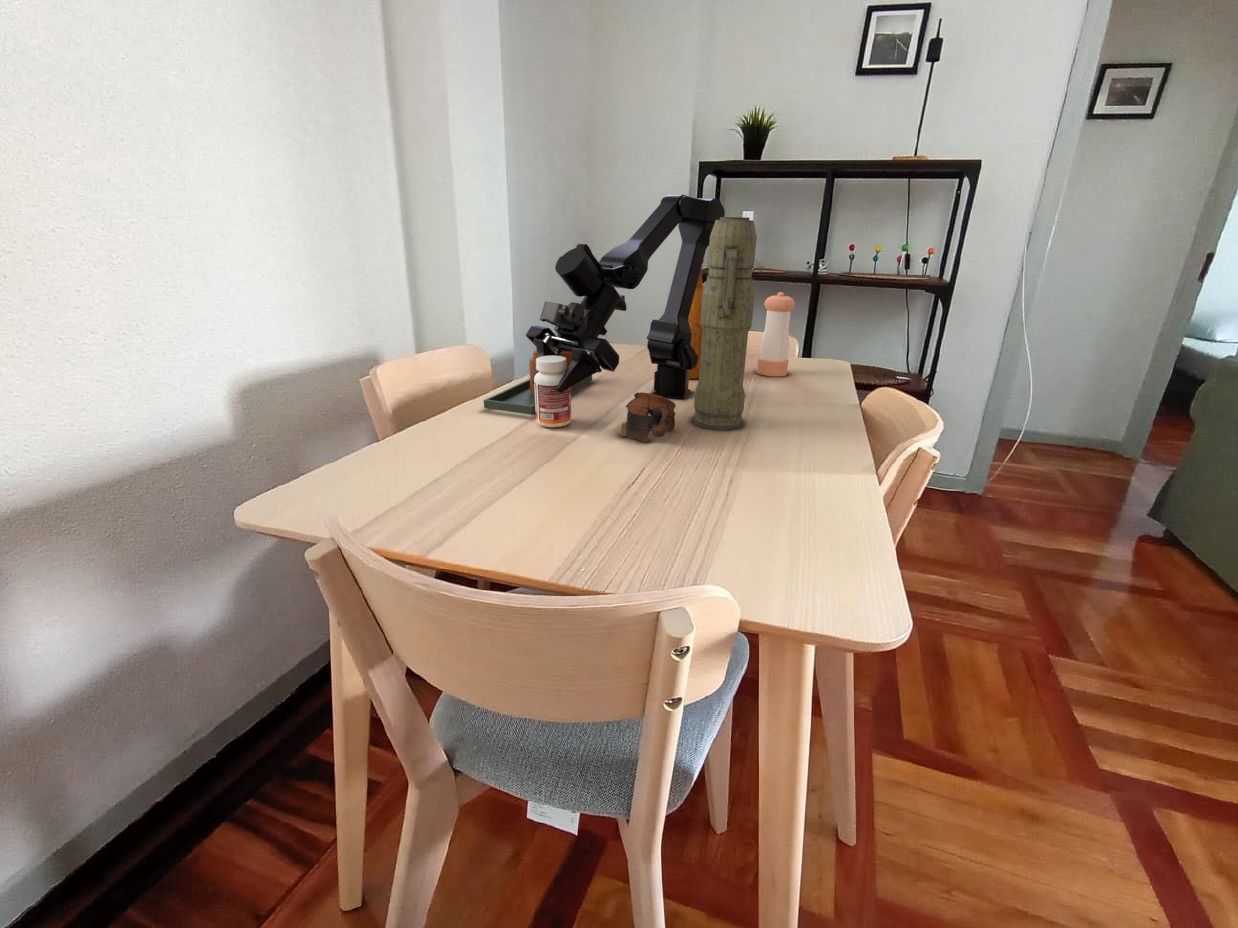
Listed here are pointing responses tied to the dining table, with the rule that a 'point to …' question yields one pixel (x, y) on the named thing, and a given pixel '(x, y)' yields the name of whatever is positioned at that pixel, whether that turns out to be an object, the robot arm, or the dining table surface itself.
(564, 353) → the amber bottle end
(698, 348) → the wine bottle
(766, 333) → the pepper shaker
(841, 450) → the dining table surface
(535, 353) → the amber bottle middle
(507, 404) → the tray
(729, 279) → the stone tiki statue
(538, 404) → the pill bottle
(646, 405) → the brown rough arched piece
